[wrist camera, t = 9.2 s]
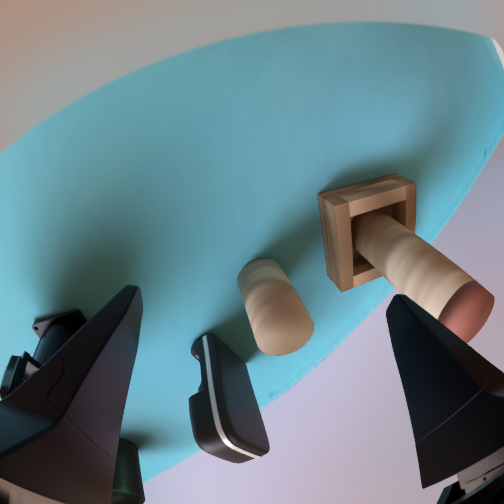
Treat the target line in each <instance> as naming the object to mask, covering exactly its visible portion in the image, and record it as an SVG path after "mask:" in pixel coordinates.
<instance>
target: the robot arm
mask: <svg viewBox="0 0 504 504" xmlns="http://www.w3.org/2000/svg"><path fill="white" fill-rule="evenodd" d="M142 313H143V302H142V297H141V291H140V288H139V286H136V285H127V286H125V287H124V288H123V289H122V290H121V291H120V292H119V293H118V294H116V295H115V296H114V297H113V298H112V299H111V300H110V301H109V302H108V303H107V304H106V305H105V306H104V307H102V308H101V309H100V310H99V311H98V312H97V313H96V314H95V315H94V316H93V317H92V318H91V319H90V320H89V321H88V322H87V320H86V319H85V317H84V316H83V314H82V313H81V312H80V311H79V310H72V311H69V312H66V313H62V314H59V315H56V316H53V317H50V318H46V319H43V320H40V321H37V322H34V323H33V325H32V328H33V330H34V331H35V333H36V334H37V335H38V337H39V338H40V340H39V343H38V345H37V348H36V350H35V353H34V355H33V357H31V356H30V354H29V353H27V352H26V351H24V353H23V354H22V356H13V355H12V356H11V358H10V360H9V363H8V365H7V367H6V370H5V372H4V375H3V378H2V382H1V385H0V397H1V401H0V504H111V494H112V485H113V477H114V469H115V460H116V454H117V448H118V442H119V436H120V430H121V424H122V419H123V414H124V408H125V403H126V398H127V394H128V389H129V384H130V380H131V375H132V371H133V367H134V363H135V358H136V354H137V349H138V342H139V334H140V327H141V320H142ZM76 315H78V316H76ZM386 318H387V323H388V327H389V333H390V338H391V343H392V347H393V351H394V356H395V359H396V362H397V366H398V370H399V374H400V377H401V381H402V385H403V389H404V393H405V397H406V401H407V406H408V410H409V415H410V419H411V424H412V428H413V434H414V439H415V443H416V444H415V445H416V450H417V456H418V463H419V470H420V476H421V483H422V488H423V489H424V488H427V487H429V486H431V485H433V484H436V483H438V482H440V481H443V480H445V479H447V478H449V477H451V476H453V475H455V474H457V477H458V481H457V482H455V483H453V484H451V485H449V486H447V487H445V488H444V489H443V491H442V494H441V496H440V498H439V500H438V502H437V504H504V373H503V372H502V371H501V370H499V369H498V368H497V367H495V366H494V365H493V364H491V363H490V362H489V361H487V360H486V359H485V358H484V357H482V356H481V355H480V354H479V353H477V352H476V351H475V350H474V349H473V348H472V347H470V346H468V344H467V343H466V342H464V341H463V340H462V339H461V338H460V337H458V336H457V335H456V334H455V333H453V332H452V331H451V330H450V329H448V328H447V327H446V326H445V325H444V324H442V323H441V322H440V321H439V320H437V319H436V318H435V317H434V316H432V315H431V314H430V313H428V312H427V311H426V310H425V309H423V308H422V307H421V306H419V305H418V304H417V303H416V302H414V301H413V300H412V299H410V298H409V297H408V296H406V295H405V294H397V295H395V296H394V297H393V299H392V301H391V303H390V304H389V306H388V308H387V310H386Z"/></svg>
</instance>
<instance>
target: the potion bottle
mask: <svg viewBox="0 0 504 504" xmlns="http://www.w3.org/2000/svg"><path fill="white" fill-rule="evenodd" d="M144 502H145V496H144V490H143V484H142V478H141V471H140V464H139V456H138V448H137V447H136V446H135V445H134V444H133V443H131V442H129V441H126V440H123V439H119V442H118V448H117V454H116V460H115V469H114V477H113V485H112V494H111V504H143V503H144Z"/></svg>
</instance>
